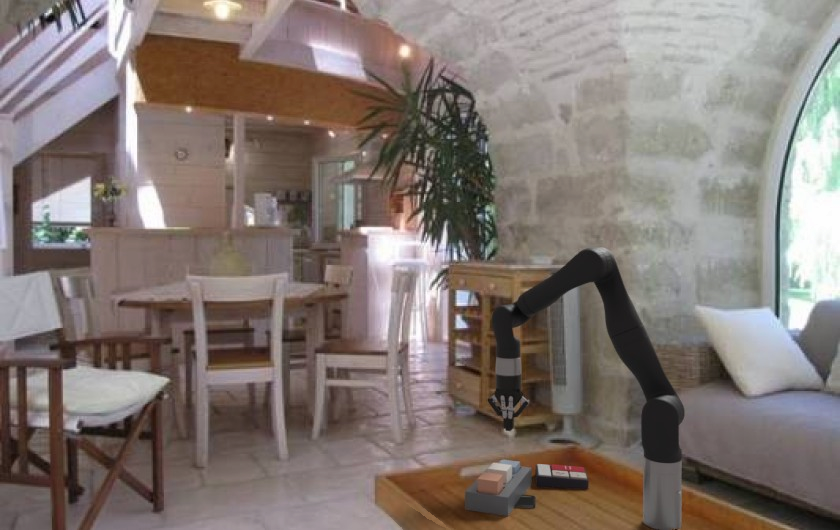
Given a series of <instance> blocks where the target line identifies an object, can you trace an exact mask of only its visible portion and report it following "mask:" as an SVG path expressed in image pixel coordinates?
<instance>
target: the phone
mask: <svg viewBox="0 0 840 530" xmlns="http://www.w3.org/2000/svg"><path fill="white" fill-rule="evenodd" d="M536 503H537V500H536V496H535V495H530V494H529V495H528V494H524V495H522V496H521V497H520V499H519V500H518V501H517V503H516V504H515V507H521V508H520V509H536V506H537V505H536ZM515 507H514V508H515Z"/></svg>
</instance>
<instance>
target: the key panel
mask: <svg viewBox="0 0 840 530" xmlns="http://www.w3.org/2000/svg"><path fill="white" fill-rule="evenodd" d="M493 463H494V462H492V463H491V464H490V465H489V466H488V467H487V468H486V469H485V470H484V471H483V472H482V474H483V473H484V472H485V473H488V468H489V467H490V466H491V465H492V464H493ZM532 471H533V469H532V467H530V466H529V467H528V466H521V465H520V470H519V471H518V472H517V474H512V479H511V480H510V482H509V483H508V484H504V483H503V490H502V491H501V492H500V494H499V495H495V494H488V493H481V492H478V478H476V479H475V481H473V483H472V484H471V485H469V487H468V488H466V490H465V491H464V510H465V511H473V512H478V513H485V514H492V515H499V516H506V517H509V516H510V514H511V513H512V511H513V510H514V509H513V508H515V504H516V503H517V501H518V500H519V499H520V497H521V496H522V495H526V492H527V491H528V490H529V488H530V487H531V485H532V484H533V483H532V482H533V481H532V480H533V479H532V478H533V477H532V476H533V475H532V474H533V473H532Z"/></svg>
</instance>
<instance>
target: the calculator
mask: <svg viewBox="0 0 840 530" xmlns="http://www.w3.org/2000/svg"><path fill="white" fill-rule="evenodd" d="M534 475H535V484H536V485H535V486H536V487H537V488H546V489H547V488H548V489H549V488H550V489H552V488H557V489H571V490H572V489H574V490H578V489H579V490H588V489H589V482H590V480H589V477H588V475H587V472H586V468H585V467H583V466H574V465H573V466H572V465H561V464H546V463H545V464H544V463H543V464H541V463H537V464H535V472H534Z"/></svg>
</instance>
